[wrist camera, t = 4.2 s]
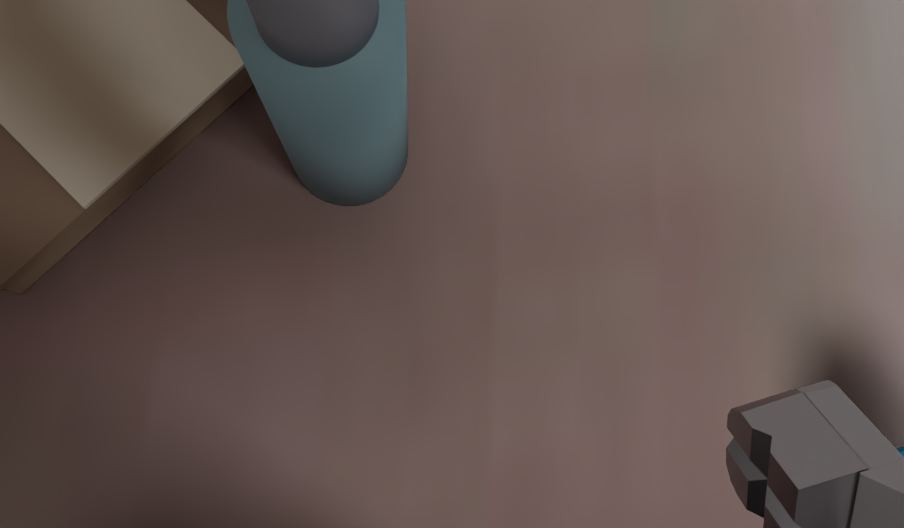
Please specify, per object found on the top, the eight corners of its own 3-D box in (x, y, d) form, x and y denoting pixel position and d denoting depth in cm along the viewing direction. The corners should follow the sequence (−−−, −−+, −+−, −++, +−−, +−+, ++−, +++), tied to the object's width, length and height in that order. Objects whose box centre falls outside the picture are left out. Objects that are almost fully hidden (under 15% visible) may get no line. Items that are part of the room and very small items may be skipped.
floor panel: (63, -237, 31) (43, -275, 29) (330, 15, 29) (325, -10, 28) (-253, 9, 28) (-295, -16, 27) (21, 294, 27) (-5, 286, 26)
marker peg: (350, 71, 29) (311, -148, 18) (431, 149, 29) (444, -25, 17) (266, 149, 28) (170, -28, 17) (348, 229, 28) (306, 103, 17)
